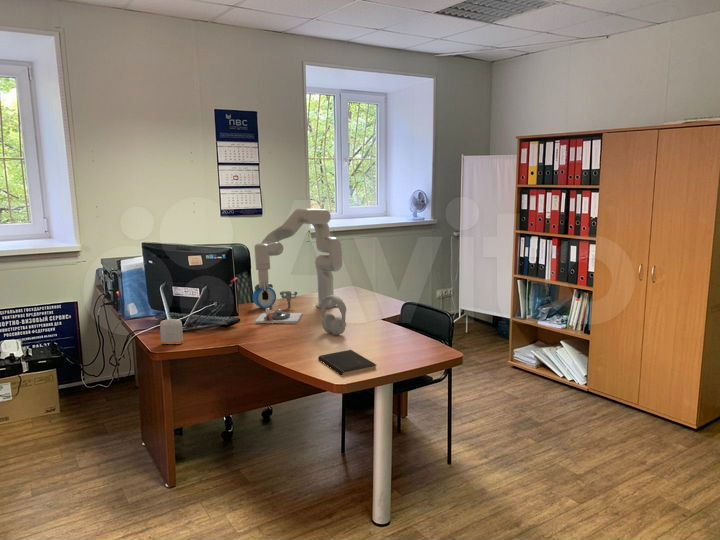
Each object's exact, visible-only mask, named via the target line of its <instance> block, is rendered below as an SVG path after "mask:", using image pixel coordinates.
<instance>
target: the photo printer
mask: <svg viewBox="0 0 720 540" xmlns="http://www.w3.org/2000/svg"><path fill="white" fill-rule="evenodd" d="M159 331H160V343H161V342H181V341H183V342H184V337H183V323H182V320H180V319H176V318H167V319H164V320H161V321H160V323H159Z"/></svg>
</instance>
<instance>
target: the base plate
mask: <svg viewBox="0 0 720 540" xmlns="http://www.w3.org/2000/svg"><path fill="white" fill-rule="evenodd" d="M289 313H290V317H288V318H285V319H273V318H272V315H269V320H264V317H266V312H265V313H264V312H263V313H261V314H260V315H259V316H258V317H257V318H256V320H255V321H254V322H255V323H272V324H271V325H274V324H273V323H285V324H286V325H289V324H290V325H291V324H293V325H295V324H297V325H298V324H299V323H300V320H301V319H302V317H303V313H302V312H289ZM300 318H301V319H300Z"/></svg>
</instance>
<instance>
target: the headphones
mask: <svg viewBox="0 0 720 540" xmlns="http://www.w3.org/2000/svg"><path fill="white" fill-rule="evenodd" d="M330 299H332V300H333V301H334V302H335V303H336V304H337V305H336V307H337V308H338V310H339V312H340V315H341V316H335V315H334V314H332V313H328V314H326V313H325V312H326V308H325V307H326V305H327V303H328V301H329V300H330ZM320 312H321V316H322V319H321V325H322V329H323V330H324V332H326V333H327V334H333V335H334V336H340V335H341V334H344V332H345V330H346V327H347V326H346V325H347V322H346V315H347V313H346V312H347V306H346V303H345V302H344V300H343V299H342V298H341V297H339V296H338V295H335V294H334V295H329V296H326V297H325V298H324V299H323V300H322V301H321V308H320Z"/></svg>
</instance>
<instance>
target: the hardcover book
mask: <svg viewBox="0 0 720 540" xmlns="http://www.w3.org/2000/svg"><path fill="white" fill-rule="evenodd" d="M317 359H319V360H318V361H320V362H321V361H322V362H321V363H323V362H324V363H325V364H326V365H325V364H324V363H323V364H324V365H325V366H327V365H328V366H329V367H328V366H327V367H328V368H330V367H331V368H332V369H331V368H330V369H331V370H332V371H334V370H335V371H336V372H335V371H334V372H335V373H337V372H338V373H339V375H340V376H341V375H344V376H348V375H353V374H357V373H362V372H366V371H371V370H376V368H377V367H376V366H378V364H377V363H375V362H373V361H371V360H369V359H368V358H366V357H364V356H362V355H361V354H360V353H358V352H356V351H354V350H352V349H346V350H340V351H336V352H331V353H327V354H321V355H319V356H318V358H317ZM338 373H337V374H338Z"/></svg>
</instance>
